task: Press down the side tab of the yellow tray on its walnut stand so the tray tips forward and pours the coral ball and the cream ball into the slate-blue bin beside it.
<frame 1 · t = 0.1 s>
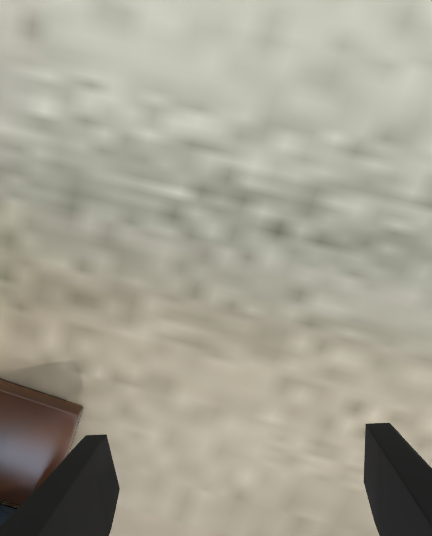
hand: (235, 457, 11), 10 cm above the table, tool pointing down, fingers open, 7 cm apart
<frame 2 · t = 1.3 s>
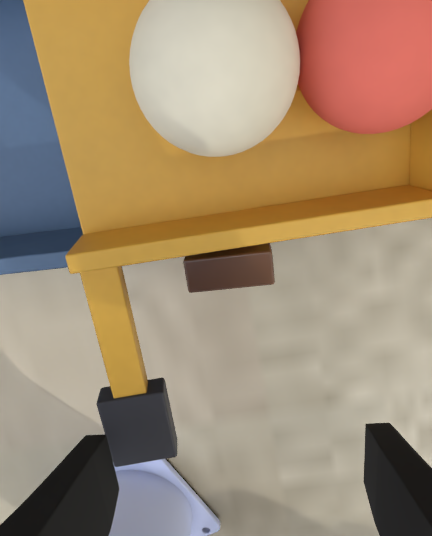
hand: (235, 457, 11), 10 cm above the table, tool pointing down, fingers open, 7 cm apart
ball coral: (377, 47, 9), point 9 cm above the table, tilted 9°, touching ball cream, yellow tray
dish stand: (220, 92, 18), on the table
ball cream: (214, 70, 9), point 9 cm above the table, tilted 22°, touching ball coral, yellow tray
yellow tray: (249, 206, 11), point 8 cm above the table, hinge at -8.4°, touching ball coral, ball cream
bin: (1, 124, 19), on the table
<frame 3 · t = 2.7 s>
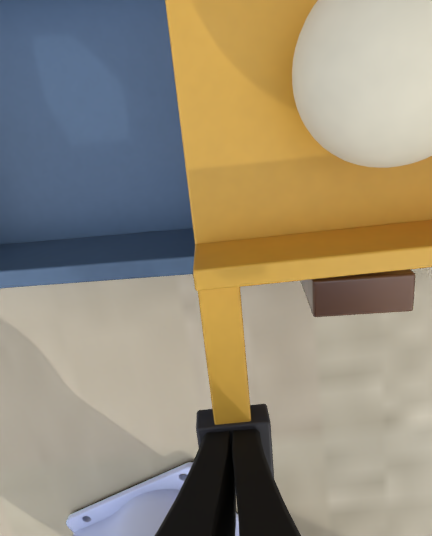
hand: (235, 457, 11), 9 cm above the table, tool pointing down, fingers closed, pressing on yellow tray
dish stand: (304, 94, 16), on the table
ball cream: (390, 67, 8), point 9 cm above the table, tilted 18°, touching ball coral, yellow tray
yellow tray: (385, 222, 10), point 8 cm above the table, hinge at -4.5°, touching ball coral, ball cream, gripper
bin: (63, 120, 17), on the table
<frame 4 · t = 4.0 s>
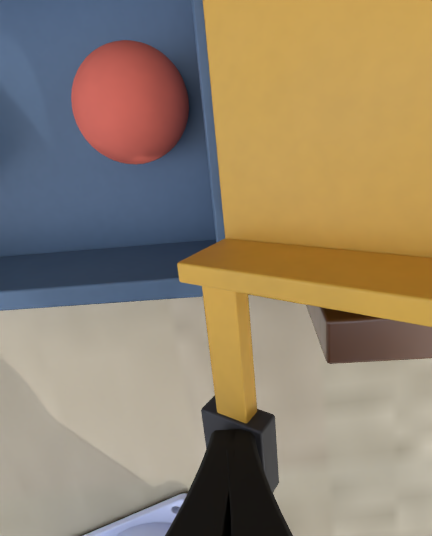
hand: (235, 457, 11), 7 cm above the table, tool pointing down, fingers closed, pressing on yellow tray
ball coral: (131, 105, 13), point 2 cm above the table, tilted 60°, touching bin
dish stand: (309, 92, 14), on the table
yellow tray: (420, 255, 8), point 8 cm above the table, hinge at 31.7°, touching gripper
bin: (39, 121, 15), on the table
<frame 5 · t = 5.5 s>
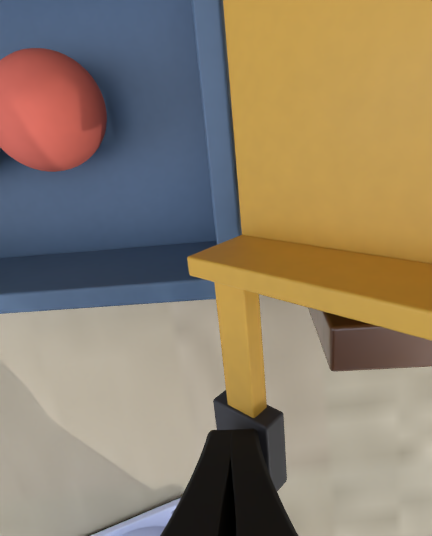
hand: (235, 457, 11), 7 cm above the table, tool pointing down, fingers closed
ball coral: (47, 112, 13), point 2 cm above the table, tilted 145°, touching bin
dish stand: (312, 90, 14), on the table
yellow tray: (426, 262, 7), point 8 cm above the table, hinge at 40.5°, touching gripper
bin: (36, 120, 15), on the table
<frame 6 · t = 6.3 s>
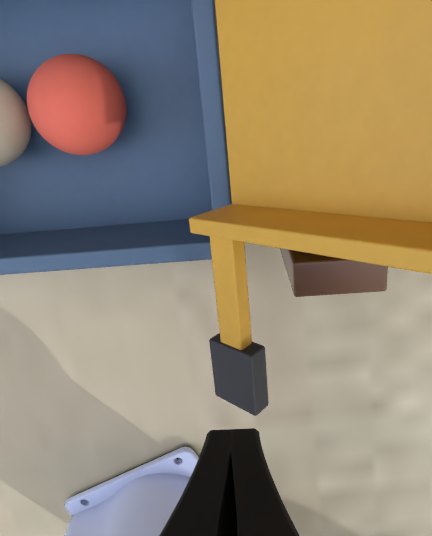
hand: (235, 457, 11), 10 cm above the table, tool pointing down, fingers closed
ball coral: (78, 106, 16), point 2 cm above the table, tilted 140°, touching bin
dish stand: (292, 90, 17), on the table
yellow tray: (362, 214, 10), point 8 cm above the table, hinge at 40.4°
bin: (62, 114, 18), on the table
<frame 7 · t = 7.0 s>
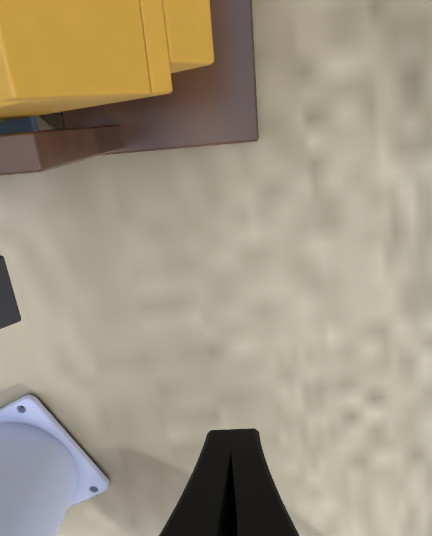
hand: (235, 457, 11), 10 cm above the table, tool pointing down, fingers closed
dish stand: (79, 15, 17), on the table
yellow tray: (7, 89, 10), point 8 cm above the table, hinge at 40.4°
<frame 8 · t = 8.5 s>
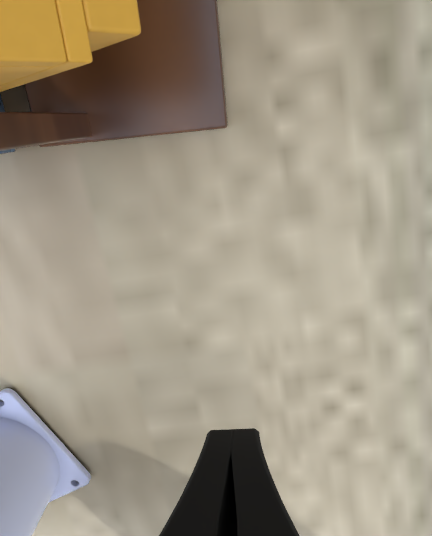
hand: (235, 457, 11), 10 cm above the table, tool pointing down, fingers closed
dish stand: (43, 2, 17), on the table
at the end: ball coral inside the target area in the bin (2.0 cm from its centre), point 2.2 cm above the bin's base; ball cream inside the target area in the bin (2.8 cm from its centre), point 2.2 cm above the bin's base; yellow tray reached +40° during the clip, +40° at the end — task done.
